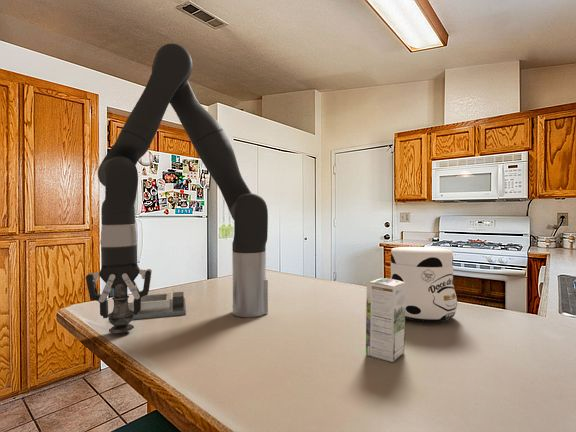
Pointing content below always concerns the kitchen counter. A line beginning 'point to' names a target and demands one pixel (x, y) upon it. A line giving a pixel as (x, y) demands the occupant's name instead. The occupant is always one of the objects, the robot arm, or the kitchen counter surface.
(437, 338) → the kitchen counter surface
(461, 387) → the kitchen counter surface
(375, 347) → the syrup box
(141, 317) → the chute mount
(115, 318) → the grey chess piece
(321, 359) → the kitchen counter surface
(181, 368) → the kitchen counter surface
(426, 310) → the milk container
